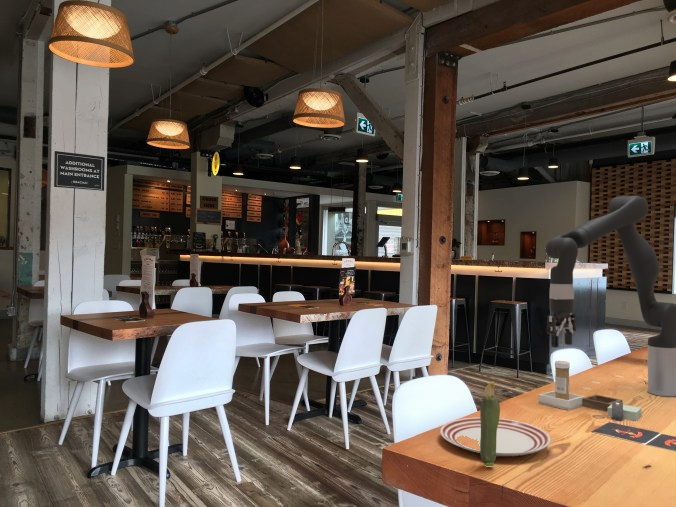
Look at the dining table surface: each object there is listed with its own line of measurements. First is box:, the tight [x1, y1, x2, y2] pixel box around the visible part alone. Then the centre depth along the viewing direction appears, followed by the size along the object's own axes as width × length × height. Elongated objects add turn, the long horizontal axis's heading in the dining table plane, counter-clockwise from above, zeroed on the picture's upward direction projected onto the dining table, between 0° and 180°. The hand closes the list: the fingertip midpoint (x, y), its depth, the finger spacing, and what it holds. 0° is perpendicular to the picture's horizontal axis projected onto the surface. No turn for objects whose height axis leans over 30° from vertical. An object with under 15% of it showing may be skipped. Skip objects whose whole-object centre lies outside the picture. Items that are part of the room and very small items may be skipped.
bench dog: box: [611, 401, 624, 422], centre depth 161 cm, size 3×3×5 cm
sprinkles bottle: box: [554, 360, 571, 400], centre depth 177 cm, size 5×5×14 cm
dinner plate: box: [439, 416, 551, 457], centre depth 138 cm, size 28×27×3 cm
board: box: [607, 404, 643, 422], centre depth 164 cm, size 7×8×3 cm
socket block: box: [581, 394, 623, 413], centre depth 174 cm, size 9×9×2 cm
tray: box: [538, 389, 586, 411], centre depth 177 cm, size 10×10×3 cm
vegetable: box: [479, 380, 501, 467], centre depth 122 cm, size 4×4×20 cm
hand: (561, 345), depth 177 cm, fingers open, 8 cm apart
